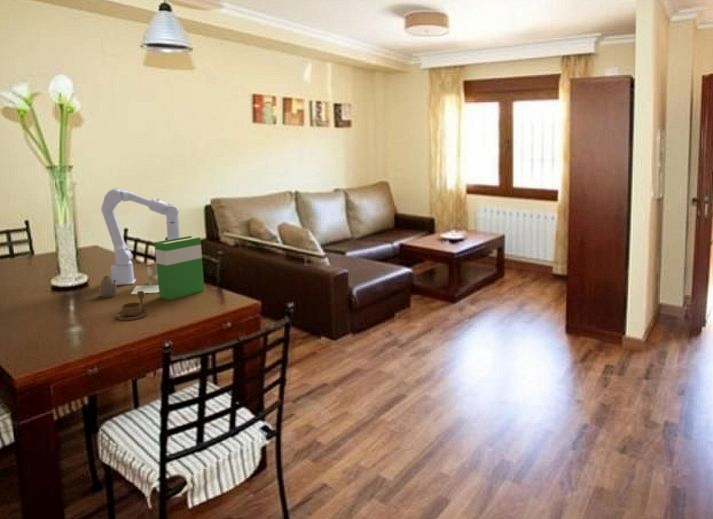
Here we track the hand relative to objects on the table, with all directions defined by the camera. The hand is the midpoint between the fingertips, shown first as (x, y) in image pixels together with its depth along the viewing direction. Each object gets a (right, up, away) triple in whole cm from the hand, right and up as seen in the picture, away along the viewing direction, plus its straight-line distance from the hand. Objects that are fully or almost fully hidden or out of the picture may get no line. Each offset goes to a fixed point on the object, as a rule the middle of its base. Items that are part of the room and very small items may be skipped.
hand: (175, 258), depth 262 cm
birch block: (-7, -12, -6) cm, 15 cm away
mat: (-5, -14, -15) cm, 21 cm away
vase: (-21, -16, -25) cm, 36 cm away
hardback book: (+10, -16, -23) cm, 29 cm away
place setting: (+1, -22, -47) cm, 52 cm away
